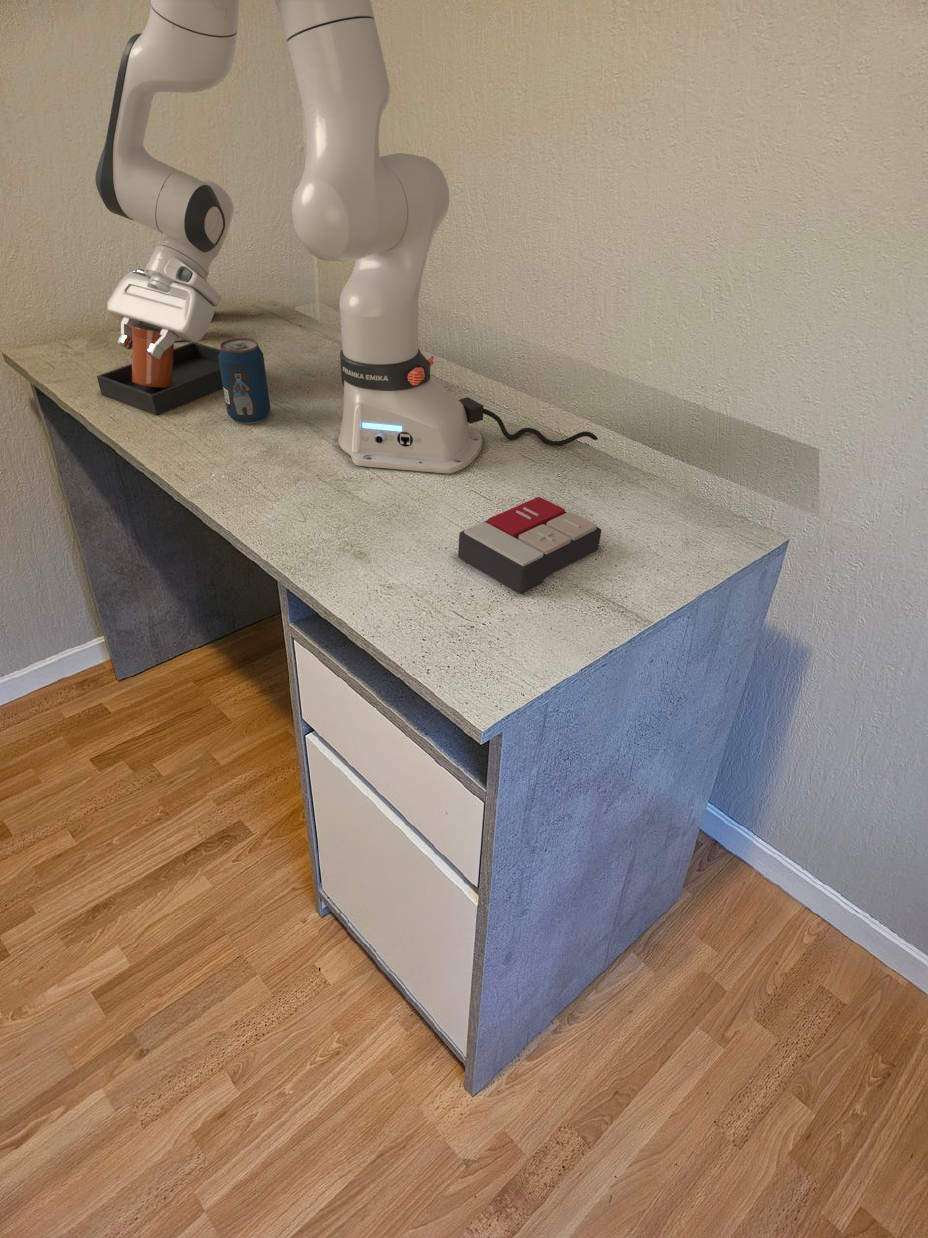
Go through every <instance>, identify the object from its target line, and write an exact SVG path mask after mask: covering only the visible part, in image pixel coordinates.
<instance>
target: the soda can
mask: <svg viewBox="0 0 928 1238" xmlns="http://www.w3.org/2000/svg"><path fill="white" fill-rule="evenodd" d="M219 347H220V349H219V350H220V352H219V355H218V359H219V366H220V372H221V378H222V384H223V388H222V389H223V396H224V402H225V403H224V404H225V408H226V413H227V414H228V416H229V417H230V418H231V419H232V421H234V423H237V424H240V425H253V424H258V423H261V422H263V421H265V420H266V419H267V418H268V416H269V414H270V411H271V402H270V396H269V395H270V394H269V387H268V380H267V372H266V365H265V358H264V357H265V355H264V352H263V351H262V349H261V348H260V346H259V343H258V341H257V340H255V339H252V338H245V337H236V338H232V339H228V340H225V341H223V342H221V343H220V345H219Z"/></svg>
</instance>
